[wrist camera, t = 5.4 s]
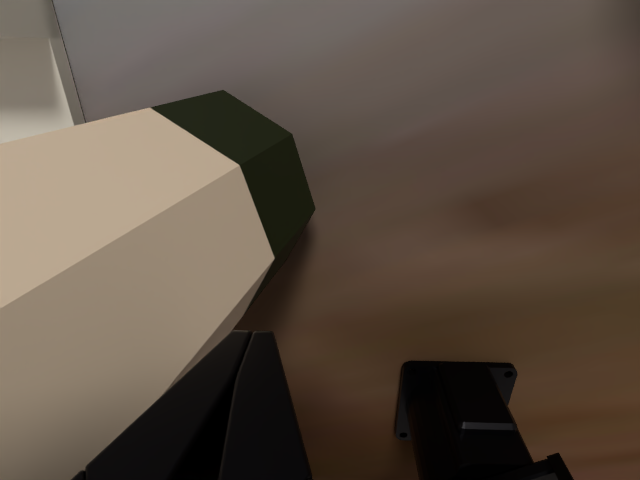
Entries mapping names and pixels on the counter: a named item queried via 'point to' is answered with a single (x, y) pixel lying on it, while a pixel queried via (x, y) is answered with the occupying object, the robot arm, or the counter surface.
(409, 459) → the counter surface
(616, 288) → the counter surface
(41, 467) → the wine bottle
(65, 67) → the tray
